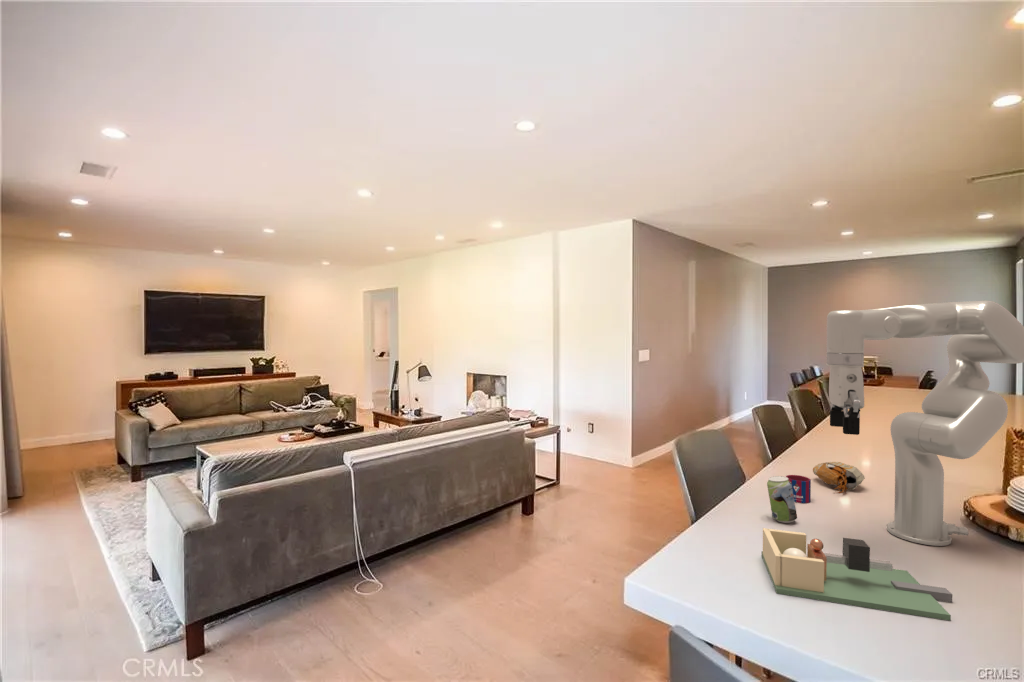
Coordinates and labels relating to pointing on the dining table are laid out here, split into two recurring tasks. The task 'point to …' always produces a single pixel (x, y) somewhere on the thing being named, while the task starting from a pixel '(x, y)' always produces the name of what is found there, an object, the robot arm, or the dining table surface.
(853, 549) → the copper sphere contraption
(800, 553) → the ball
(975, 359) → the robot arm
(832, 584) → the pitch
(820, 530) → the dining table surface
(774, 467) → the dining table surface
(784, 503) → the beverage can
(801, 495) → the mug
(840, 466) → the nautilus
